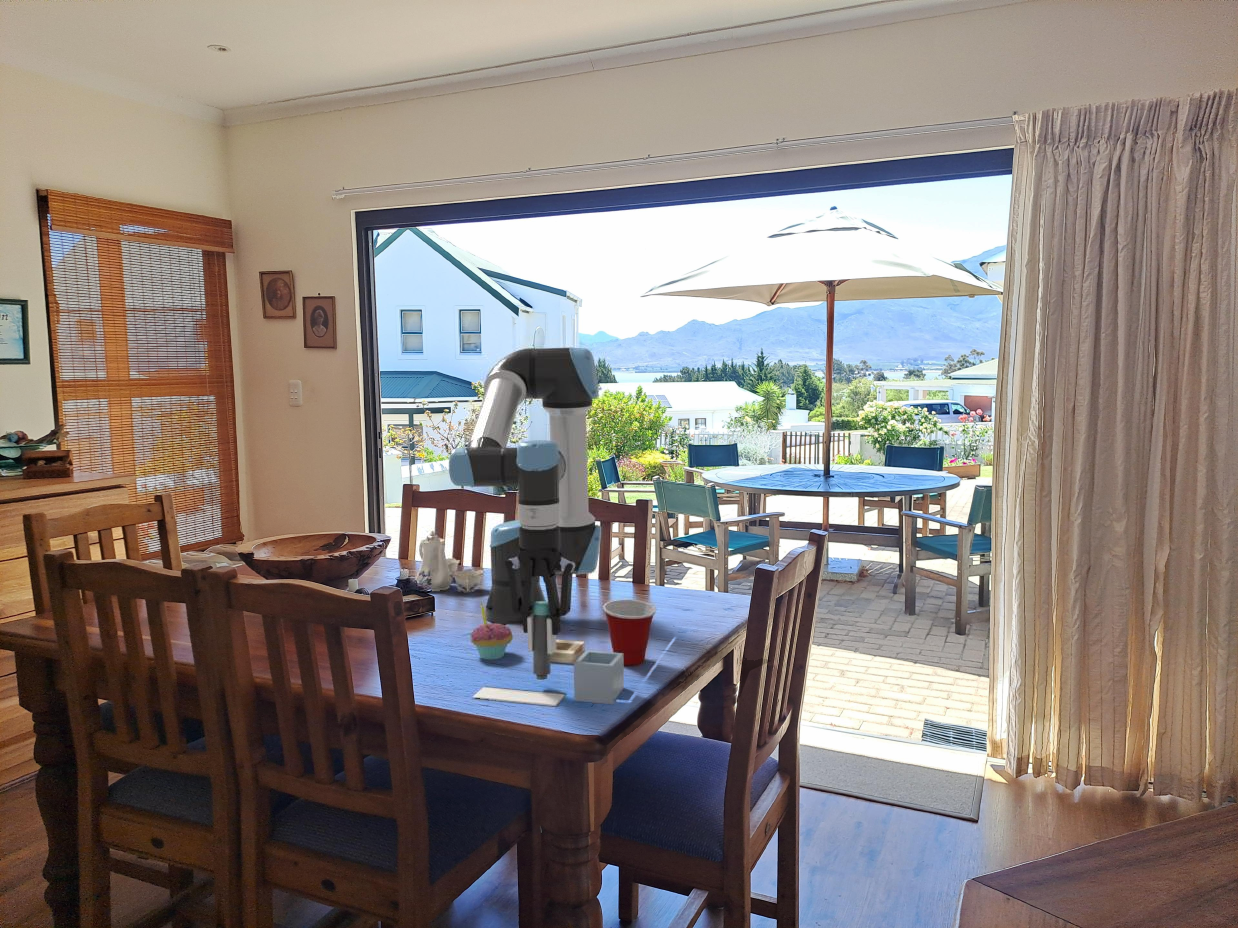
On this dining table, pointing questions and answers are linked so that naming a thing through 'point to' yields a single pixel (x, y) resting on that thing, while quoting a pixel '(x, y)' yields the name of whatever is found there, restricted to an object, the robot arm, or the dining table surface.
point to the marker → (541, 641)
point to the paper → (519, 696)
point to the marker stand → (567, 651)
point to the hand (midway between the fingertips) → (542, 650)
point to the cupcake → (491, 638)
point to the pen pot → (598, 677)
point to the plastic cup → (629, 628)
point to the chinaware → (443, 568)
